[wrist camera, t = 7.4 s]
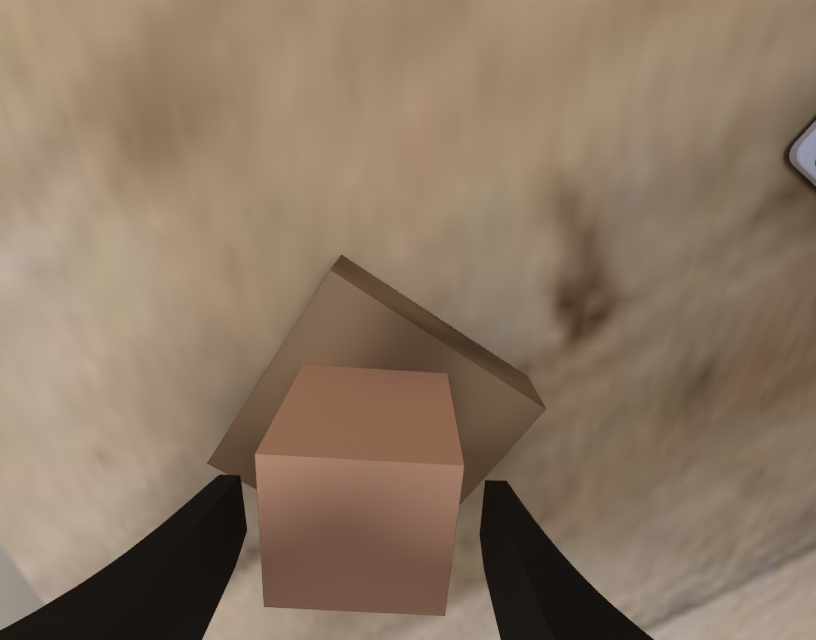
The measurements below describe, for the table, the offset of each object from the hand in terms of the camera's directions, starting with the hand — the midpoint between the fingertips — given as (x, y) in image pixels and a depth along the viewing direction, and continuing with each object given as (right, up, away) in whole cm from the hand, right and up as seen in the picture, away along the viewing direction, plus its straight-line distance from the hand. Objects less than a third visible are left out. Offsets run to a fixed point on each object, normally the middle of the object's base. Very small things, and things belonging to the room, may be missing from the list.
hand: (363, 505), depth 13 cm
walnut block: (0, +2, +6) cm, 6 cm away
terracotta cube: (0, +1, +3) cm, 3 cm away
